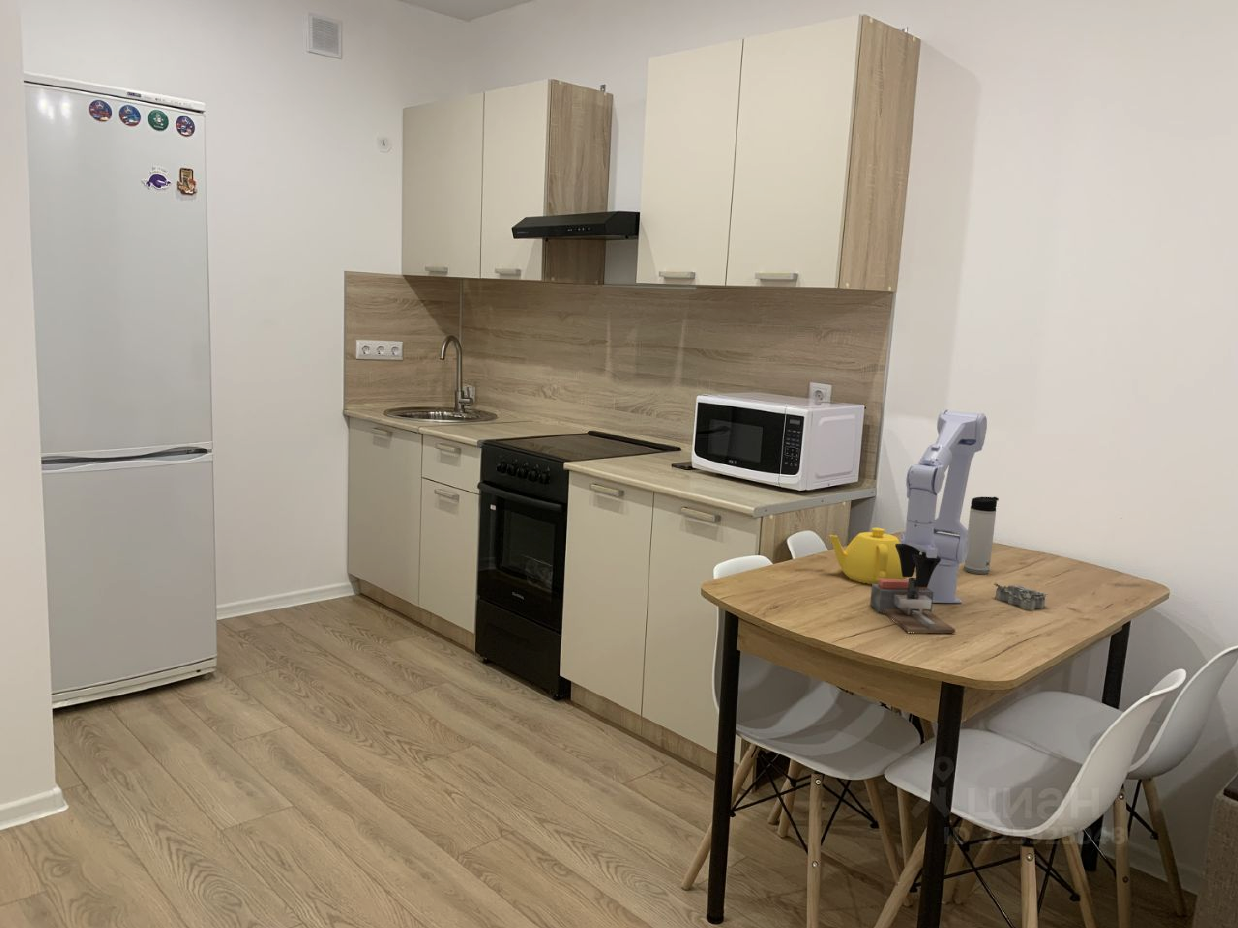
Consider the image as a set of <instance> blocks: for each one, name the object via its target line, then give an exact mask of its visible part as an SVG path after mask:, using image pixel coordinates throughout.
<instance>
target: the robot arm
mask: <svg viewBox="0 0 1238 928" xmlns="http://www.w3.org/2000/svg"><path fill="white" fill-rule="evenodd" d="M987 420H988V419H987V416H986V414H985V413H983V412H980V413H976V412H968V411H967V412H966V411H958V410H948V409H946V408H945V409H943V410H942V411H941V412H940V414H939V415H938V417H937V423H936V425H937V426H936V428H937V433H938V437H937V439H936V440H935V441H936V442H935V443H932V444H930V445H929V446H927V448H926V450H925V452H924V453H923V455H922V456H921V458H920V460H919V461H918V462H917V463H915V464H914V465H910V466H909V468H908V471H907V475H906V480H905V481H906V483H905V484H906V497H907V498H908V505H907V514H906V522H905V523H906V524H905V532H903V531H902V532H900V537H899V539H898V540H899V542H900V543H901V544H895V547H896V549H897V552H898V554H899V558H900V563H901V571H902V576H903V577H907V578H914V574H915V578H916V585H917V587H927V588H929V589H930V590H931V591H933V592H934V593H933V603H932V604H934V603H935V604H936V603H937V604H963V600H961V599H960V598H958V597H956V594H957V585H958V577H959V569H960V568H959V567H960V564H963V563H965V560H966V558H967V555H968V551H969V537H970V535H969V532H968V529H967V528H966V527H965V526H964V525H963V523H961V522H960V520H961V515H962V511H963V505H964V500H965V498H966V497H965V496H966V492H967V486H968V481H969V475H970V470H971V467H972V466H971V465H972V462H973V458H974V455H975V453H977V452H981V451H982V450H983V446H984V444H985V440H986V433H987V429H988V427H987V426H988V421H987ZM946 471H947V473H946ZM945 473H946V474H945ZM945 475H946V476H945ZM945 477H946V479H945ZM944 480H945V483H944ZM943 483H944V488H943ZM942 488H943V491H942ZM941 491H942V492H943V493H942V499H941V504H940V508H939V511H938V512H939V514H938V517H937V518H936V513H937V512H936V511H937V503H938V494H939V493H940V492H941Z"/></svg>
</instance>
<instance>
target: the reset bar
mask: <svg viewBox="0 0 1238 928" xmlns="http://www.w3.org/2000/svg"><path fill="white" fill-rule="evenodd" d="M908 582H909V578H906V579H879V581H878V585H879V586H880V587H881V588H893V589H908ZM925 588H926V587H920V589H925Z"/></svg>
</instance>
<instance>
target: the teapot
mask: <svg viewBox="0 0 1238 928" xmlns="http://www.w3.org/2000/svg"><path fill="white" fill-rule="evenodd" d="M885 532H886V529H885V528H881V527H877V526H876V527H872V528H871V531H866V532H865V531H864V532H859V533H857V534H856V535H855V536H854V538H853V539H852V540H851V541H850V543H849V544H848V546H847V547H846V548H845V550H844V547H842V543H841V542H840V539H839V538H838V535H835V534H834V535H833V534H829V539H830V542H831V544H832V547H833V551H834V553H835V556H836V559H837V561H838V565H839V567H841V570H842V572H843V573H844V574H845V576H846V577H847V578H848V577H849V578H848V579H849V580H852V579H853V580H852V581H854V580H855V582H857V581H858V582H857V583H861V582H862V584H865V583H867V584H866V585H871V584H878V581H879V579H908V577H903V576H902V571H901V563H900V558H899V554H898V552H897V549H896V547H895V544H901V543H900V542H899V540H900V539H898V538H897V536H895V535H892V534H888V533H885Z"/></svg>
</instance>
